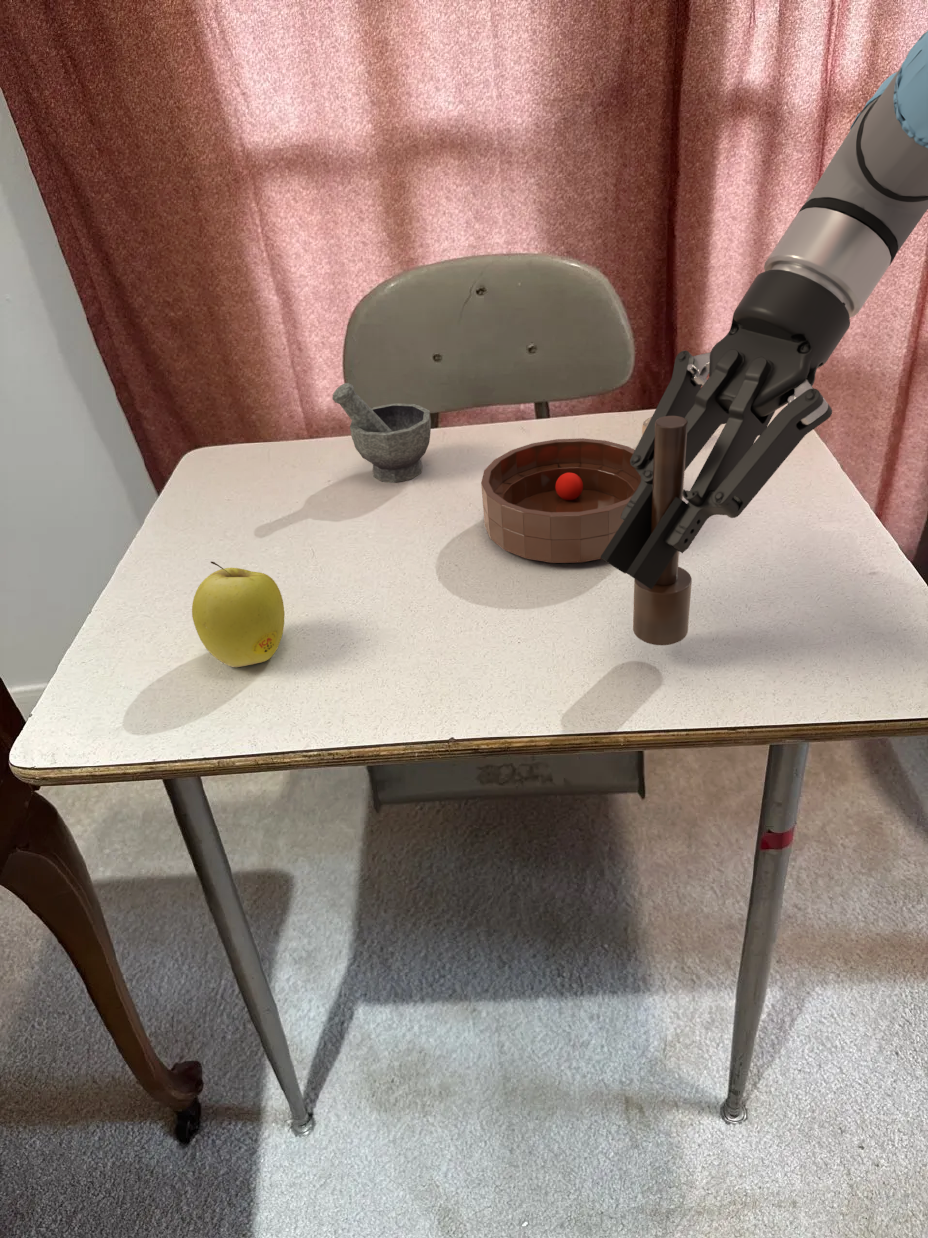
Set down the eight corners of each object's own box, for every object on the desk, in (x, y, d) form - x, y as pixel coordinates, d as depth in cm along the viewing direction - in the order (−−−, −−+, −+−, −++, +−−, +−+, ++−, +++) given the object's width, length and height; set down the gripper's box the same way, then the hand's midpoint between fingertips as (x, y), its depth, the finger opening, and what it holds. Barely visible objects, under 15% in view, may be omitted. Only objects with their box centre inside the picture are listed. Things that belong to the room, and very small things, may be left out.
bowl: (658, 568, 81) (661, 514, 77) (477, 570, 83) (472, 517, 80) (648, 485, 95) (650, 435, 91) (494, 489, 98) (490, 441, 94)
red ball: (583, 504, 91) (582, 479, 89) (555, 505, 91) (554, 480, 90) (583, 491, 93) (583, 467, 92) (556, 492, 94) (555, 468, 92)
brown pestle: (690, 645, 67) (707, 432, 56) (633, 645, 67) (640, 435, 57) (685, 613, 70) (700, 407, 60) (631, 614, 71) (637, 410, 60)
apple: (231, 689, 70) (186, 579, 66) (204, 669, 76) (163, 568, 73) (315, 650, 73) (277, 544, 70) (283, 634, 80) (246, 536, 77)
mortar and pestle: (426, 448, 108) (414, 357, 102) (446, 477, 101) (435, 380, 94) (341, 467, 106) (323, 374, 99) (355, 497, 99) (337, 400, 92)
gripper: (919, 346, 57) (724, 634, 60) (745, 306, 68) (587, 552, 71) (885, 281, 52) (674, 600, 55) (703, 250, 63) (535, 517, 66)
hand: (626, 572), depth 63 cm, fingers closed on brown pestle, 2 cm apart
